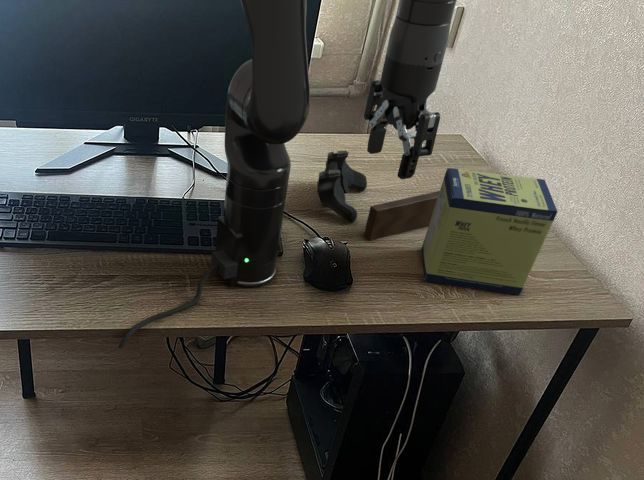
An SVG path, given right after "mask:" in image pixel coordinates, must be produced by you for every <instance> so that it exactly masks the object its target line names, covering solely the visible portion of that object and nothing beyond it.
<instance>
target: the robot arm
mask: <svg viewBox="0 0 644 480" xmlns="http://www.w3.org/2000/svg"><path fill="white" fill-rule="evenodd" d="M457 1H458V0H398V5H397V10H396V15H395V18H394V21H393V24H392V27H391V30H390V34H389V37H388V43H387V48H386V53H385V57H384V61H383V66H382V71H381V76H380V79H378V80H372V81H371V83H370V86H369V87H370V88H369V91H368V97H367V100H366V103H365V104H366V105H365V109H364V113H363V118H364V120H365V121H368V122H369V123H368V127H369V129H370V131H369V135H368V136H369V137H368V141H367V148H366V151H367V153H368V154H370V155H374V154H379V153H381V152H382V151H383V147H384V142H385V138H386V135H387V134H386V133H387V129H386V128H387V126H389V125H391V126H393V128H394V129H395V130H396V131H397V137H398V139H399V140H400V141H401V143H402V148H403V153H402V155H401V159H400V163H399V167H398V171H397V177H398V178H399V179H400V180H407V179H411V178H413V176H414V175H415V173H416V170H417V166H418V162H419V158H420V157H427V156H431V155H432V153H433V150H434V147H435V143H436V138H437V133H438V129H439V125H440V121H441V114H440V112H438V111H435V112H431V111H429V110H427V100H428V98H429V97H430V96H431V95H432V94H433V93H435V91H436V89H437V85H438V82H439V78H440V74H441V71H442V70H441V69H442V66H443V63H444V58H445V55H446V52H447V47H448V43H449V38H450V32H451V25H452V20H453V17H454V12H455V9H456V4H457ZM239 2H240V6H241V8H242V12H243V16H244V18H245V22H246V25H247V29H248V33H249V39H250V45H251V59H249V60H247V61H246V62H244V63H243V64H241V65H240V67H239V68H238V69H237V70H236V71H235V73H234V74H233V77H232V78H231V80H230V83H229V86H228V90H227V93H226V95H227V96H226V103H225V121H224V152H225V159H226V161H227V162H226V163H227V171H226V182H225V193H224V202H223V205H224V206H223V215H221V216H218V218H217V223H216V234H215V235H216V237H215V247H214V248H215V251H212V252H211V266H212V268H210V269H208V270H207V272H205V273H204V275H203V276H202V277H201V279H199V282H198V283H197V287H196V293H195V295H194V297H193V298H192V299H191V300H190V301H189V302H187V303H185V304H182V305H178V306H176V307H174V308H172V309H169V310H166V311H162V312H159V313H157V314H153V315H151V316H149V317H147V318H146V319H144V320H142V321H140V322H138V323H136V324H134V325H133V326H132V327H131V328H130V329H129V330H128V331H127V332H126V333H125V334H124V335H123V337H122V339H121V340H120V342H119V345H118V349H124V348H125V346H126V344H127V343H128V342H129V340H130V338H131V337H132V336H133V335H134V333H136V332H137V331H138V330H140V329H141V328H143V327H144V326H147V325H149V324H150V323H152V322H154V321H156V320H159V319H162V318H165V317H169V316H172V315H174V314H177V313H178V312H181V311H184V310H186V309H190V308H191V307H193V306H194V305H196V304H197V302H198V301H199V300H200V299H201V297H202V292H203V286H204V284H205V283H206V281H207V280H208V279H209V278H210V277H211V276H212V275H213V274H215V273H216V272H217V273H218V275H220V276H221V278H222V279H223V280H224V281H225V282H226V284H227V285H229V286H230V287H236V286H239V287H246V288H256V287H260V286H264V285H267V284H269V283H270V282H272V281H273V279H274V278H275V276H276V271H277V262H278V261H277V259H278V255H280V254H281V245H280V241H281V233H282V228H283V227H282V226H283V220H284V213H285V206H286V200H287V194H288V188H289V180H290V175H291V167H292V165H291V163H292V162H291V158H290V155H289V152H288V150H287V147H286V144H287V143H288V142H291V140H293V139H294V138H296V137H297V135H298V134H299V133H300V132H301V130H303V128H304V125H305V123H306V121H307V120H308V115H309V114H310V113H309V112H310V109H311V86H310V85H311V84H310V73H309V61H308V60H309V59H308V52H307V51H308V49H307V0H239ZM374 106H376V108H375V110H374ZM413 128H414V130H415V131H414V130H413V131H409V130H411V129H413ZM411 139H413V141H414V142H413V146H412V142H411ZM424 142H425V144H424Z"/></svg>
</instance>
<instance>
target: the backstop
mask: <svg viewBox="0 0 644 480" xmlns="http://www.w3.org/2000/svg"><path fill="white" fill-rule="evenodd" d="M439 192H440V190H438V191H433V192H428V193H423V194H420V195H414V196H410V197H406V198H402V199H397V200H393V201H392V200H391V201H388V202H383V203H379V204H374V205H370V207H369V211H368V215H367V220H366V224H365V229H364V232H363V236H364V238H366V239H367V240H368V241H375V240H377V239H383V238H385V237H386V238H387V237H391V236H395V235H398V234H403V233H406V232H412V231H414V230H420V229H423V228H428V227H429V224H430V220H431V217H432V214H433V211H434V207H435V204H436V201H437V198H438V195H439Z"/></svg>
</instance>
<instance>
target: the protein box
mask: <svg viewBox="0 0 644 480" xmlns="http://www.w3.org/2000/svg"><path fill="white" fill-rule="evenodd" d="M439 191H440V192H439V195H438V198H437V201H436V204H435V207H434V211H433V214H432V217H431V220H430V224H429V226H428V227H427V230H426V233H425V236H424V239H423V242H422V246H421V248H420V249H421V258H422V259H421V261H422V272H423V280H424V282H429V283H436V284H443V285H450V286H455V287H462V288H463V287H464V288H470V289H476V290H482V291H489V292H490V291H491V292H495V293H501V294H509V295H515V296H520V295H521V293H522V292H523V290H524V287H525V285H526V284H527V283H526V282H527V281H528V278H529V276H530V273H531V271H532V269H533V267H534V264H535V263H536V260H537V258H538V257H539V254H540V251H541V249H542V247H543V245H544V243H545V240H546V239H547V236H548V234H549V231H550V229H551V228H552V226H553V223H554V221H555V218H556V216H557V214H558V209H557V206H556V204H555V202H554V199H553V197H552V195H551V191H550V189H549V187H548V185H547V181H546V180H545V179H544V178H543V179H542V178H536V177H535V178H534V177H524V176H518V175H517V176H516V175H510V174H509V175H508V174H500V173H492V172H485V171H477V170H470V169H469V170H468V169H461V168H451V167H448V168H446V170H445V173H444V177H443V180H442V182H441V187H440V188H439Z"/></svg>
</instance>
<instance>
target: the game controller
mask: <svg viewBox="0 0 644 480" xmlns="http://www.w3.org/2000/svg"><path fill="white" fill-rule="evenodd" d="M349 153H350V152H348V150H337V151H336V152H334V151H331V152H327V158H326V160H325V169H324V170H323V171H320V172H319V173H318V180H317V182H316V191H317V196H318V199H319V202H320V203H321V204H322V205H323V206H326V207H327V208H329V209H330V210H332V211H333V212H334V213H336V214H337V215H338V216H339V217H341V218H342V219H344V220H345V221H347V222H349V223H350V224H352V223H355V222H356V220H357V218H358V211H357V210H356V208H355V207H354V206H352V205H351V204H348V203H346V194H348V193H349V190H354V191H356V192H357V191H358V192H364V191H366V188H367V186H368V181H367V176H366V175H365V174H364V173H362V172H360V171H357V170H355V169H352V167H351V166H350V165H349V164H348V163H347V158H348V157H349Z"/></svg>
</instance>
